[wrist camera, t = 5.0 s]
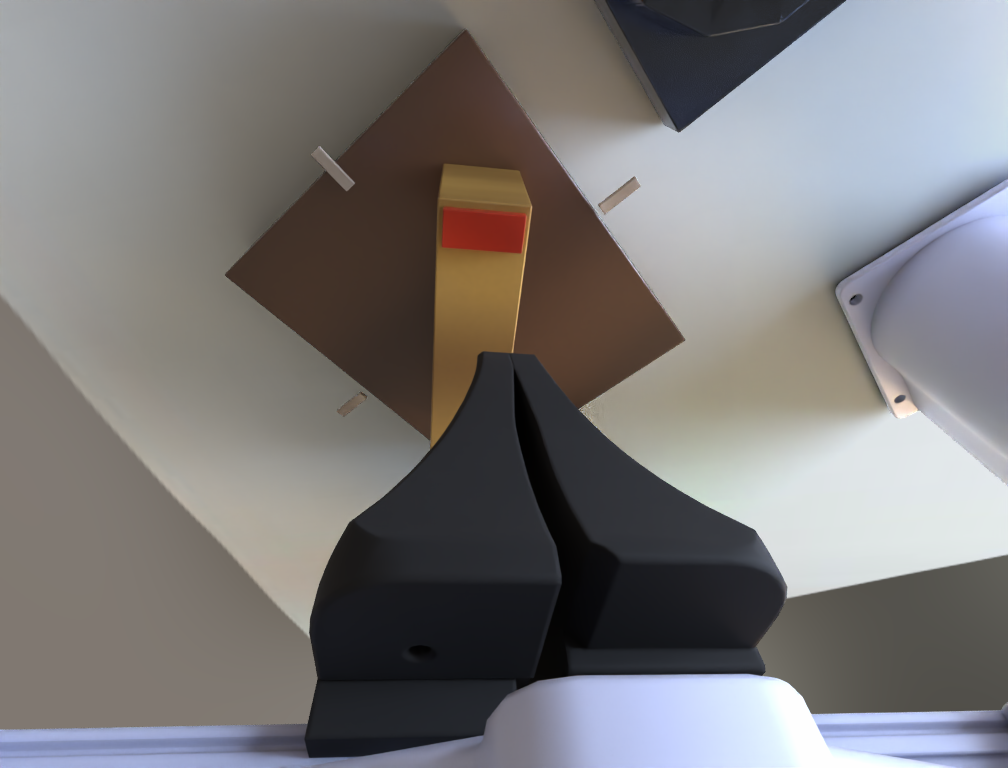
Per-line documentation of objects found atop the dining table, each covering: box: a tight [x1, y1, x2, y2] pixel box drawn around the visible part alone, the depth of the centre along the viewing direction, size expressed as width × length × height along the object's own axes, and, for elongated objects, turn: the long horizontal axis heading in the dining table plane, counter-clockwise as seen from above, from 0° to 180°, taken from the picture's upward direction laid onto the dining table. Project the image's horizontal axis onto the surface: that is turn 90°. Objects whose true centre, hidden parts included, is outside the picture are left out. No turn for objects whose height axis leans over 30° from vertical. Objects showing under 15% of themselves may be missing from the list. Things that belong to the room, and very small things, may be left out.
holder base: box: [225, 29, 685, 440], centre depth 20 cm, size 14×14×3 cm
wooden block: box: [430, 164, 532, 450], centre depth 17 cm, size 10×2×4 cm, turn 174°
